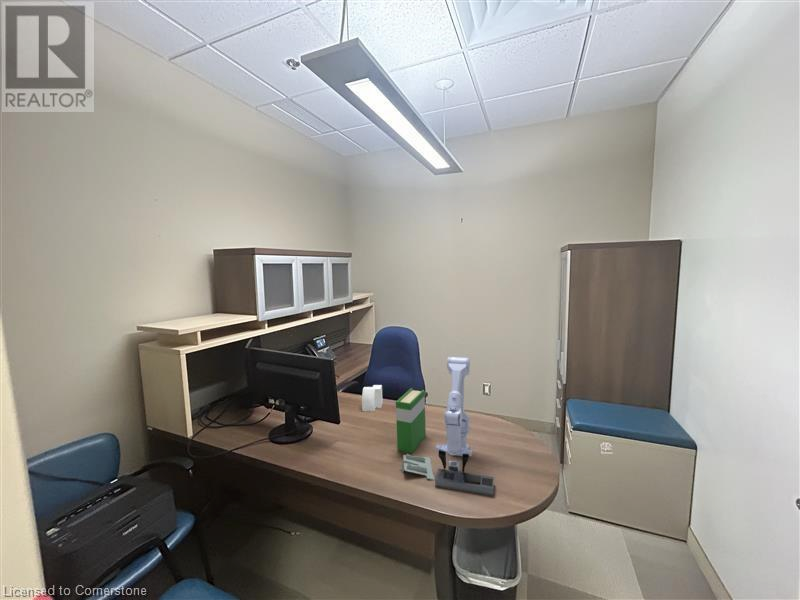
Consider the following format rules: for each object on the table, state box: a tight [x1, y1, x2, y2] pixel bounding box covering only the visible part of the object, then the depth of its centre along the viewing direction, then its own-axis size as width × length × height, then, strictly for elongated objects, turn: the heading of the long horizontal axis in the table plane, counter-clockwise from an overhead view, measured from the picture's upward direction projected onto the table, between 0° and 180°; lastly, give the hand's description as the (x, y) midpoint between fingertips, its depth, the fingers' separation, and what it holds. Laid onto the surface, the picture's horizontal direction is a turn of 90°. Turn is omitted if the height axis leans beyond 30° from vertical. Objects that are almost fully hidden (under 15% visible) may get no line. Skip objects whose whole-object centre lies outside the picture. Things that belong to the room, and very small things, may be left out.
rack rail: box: [434, 468, 495, 497], centre depth 130 cm, size 7×22×3 cm, turn 73°
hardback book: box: [395, 387, 427, 455], centre depth 160 cm, size 18×7×24 cm, turn 155°
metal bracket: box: [399, 453, 435, 481], centre depth 141 cm, size 14×6×15 cm
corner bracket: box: [361, 384, 384, 412], centre depth 202 cm, size 11×11×12 cm
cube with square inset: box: [448, 459, 461, 472], centre depth 138 cm, size 4×4×4 cm
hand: (454, 469), depth 138 cm, fingers open, 7 cm apart
